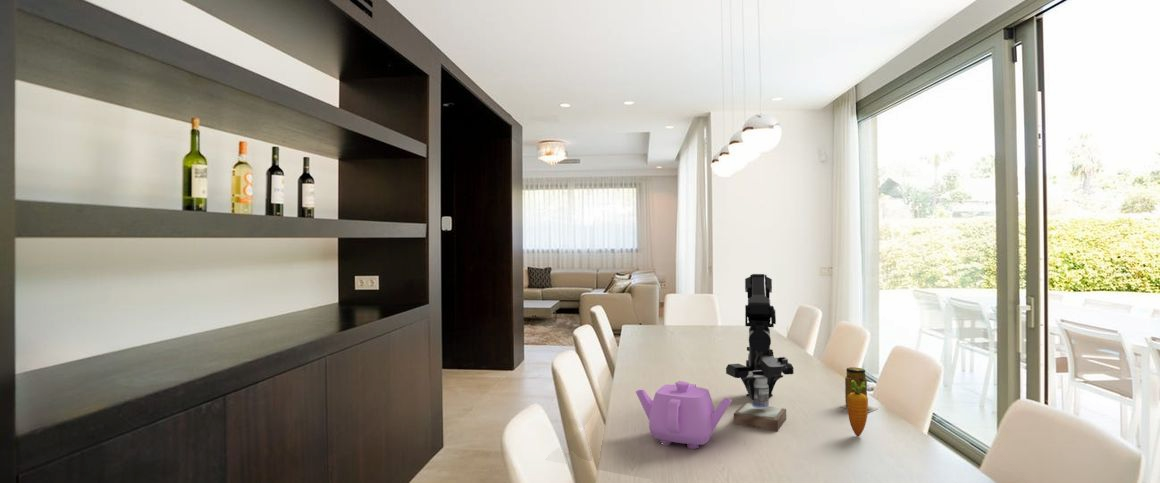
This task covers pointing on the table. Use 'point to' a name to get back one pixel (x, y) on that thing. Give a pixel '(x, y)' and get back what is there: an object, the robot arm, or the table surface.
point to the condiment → (858, 377)
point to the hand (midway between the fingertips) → (760, 398)
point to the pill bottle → (761, 392)
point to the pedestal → (760, 417)
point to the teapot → (682, 414)
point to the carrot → (857, 408)
